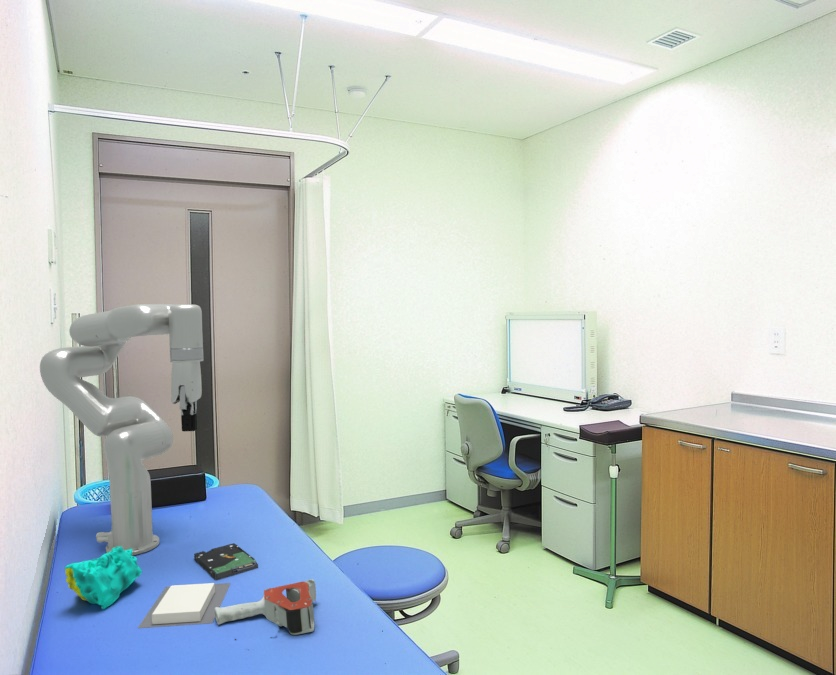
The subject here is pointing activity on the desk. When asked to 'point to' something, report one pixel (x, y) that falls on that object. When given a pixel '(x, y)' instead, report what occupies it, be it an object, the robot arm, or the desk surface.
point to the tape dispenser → (278, 607)
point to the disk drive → (225, 561)
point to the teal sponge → (103, 576)
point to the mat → (206, 619)
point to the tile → (184, 603)
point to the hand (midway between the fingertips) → (189, 430)
